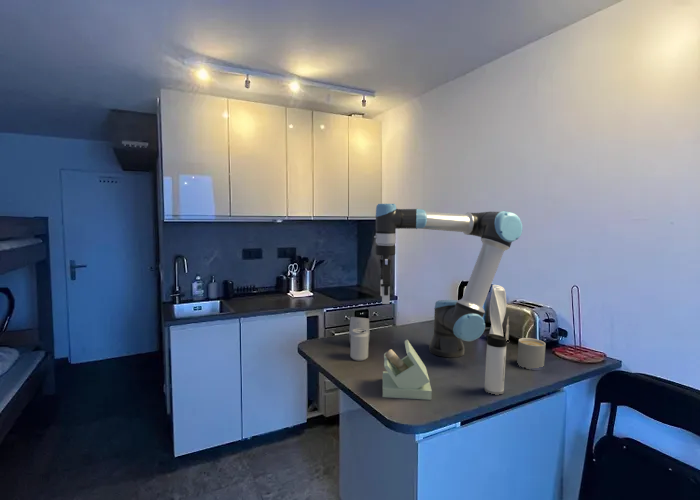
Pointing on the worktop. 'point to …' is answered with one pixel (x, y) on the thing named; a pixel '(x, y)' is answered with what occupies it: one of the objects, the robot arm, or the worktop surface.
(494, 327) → the skyscraper
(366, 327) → the smart speaker
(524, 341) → the coffee mug
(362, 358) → the can
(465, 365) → the worktop surface
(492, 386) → the travel mug
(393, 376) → the socket
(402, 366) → the dowel
